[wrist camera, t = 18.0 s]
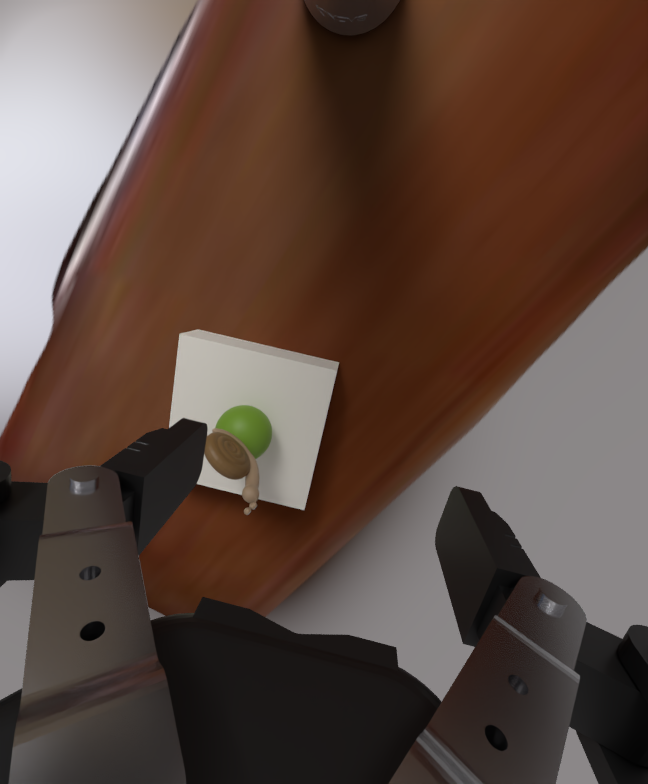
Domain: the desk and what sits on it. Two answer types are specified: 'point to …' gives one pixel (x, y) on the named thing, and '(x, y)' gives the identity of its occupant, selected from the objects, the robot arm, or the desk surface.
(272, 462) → the cream block
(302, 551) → the desk surface
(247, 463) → the snail figurine
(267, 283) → the desk surface
